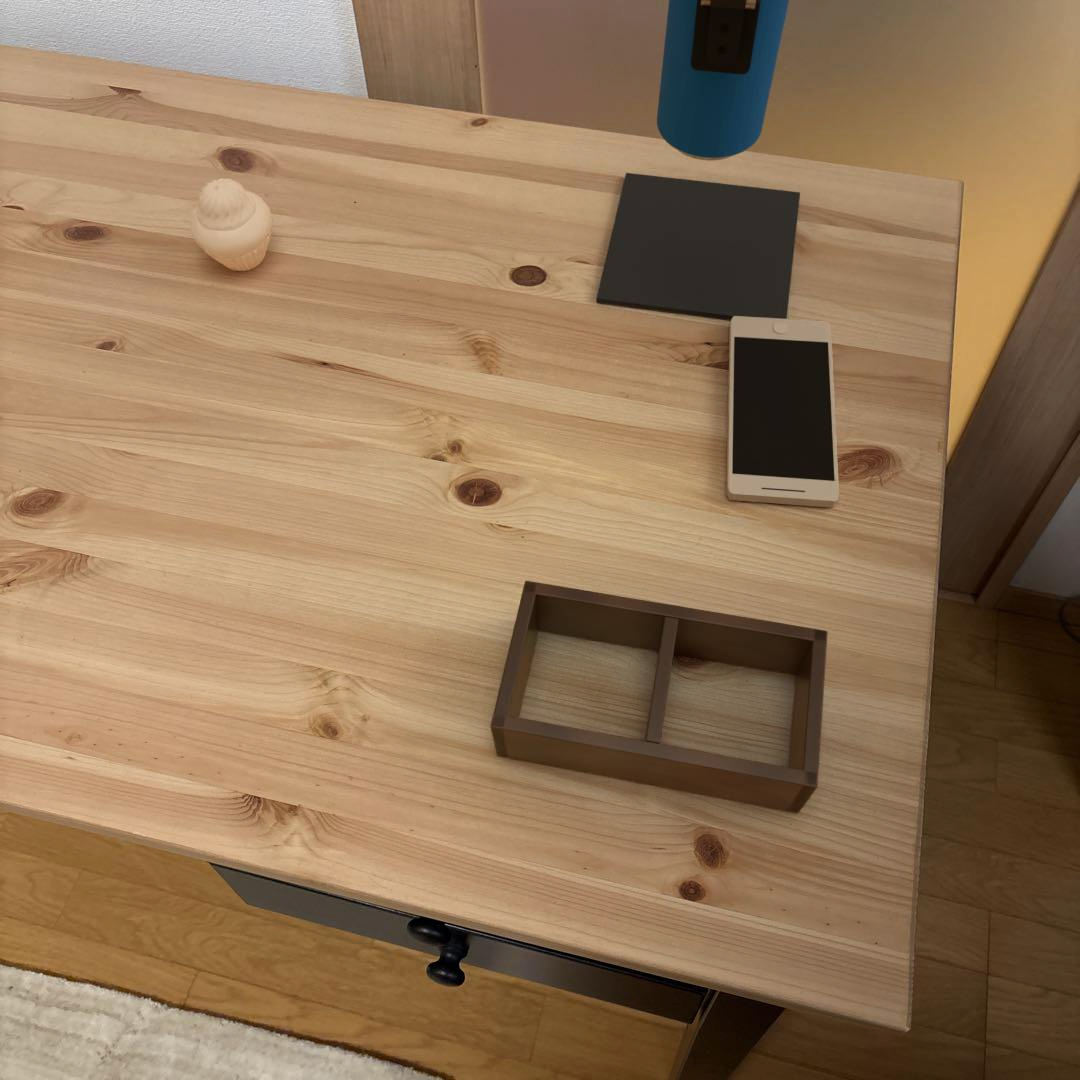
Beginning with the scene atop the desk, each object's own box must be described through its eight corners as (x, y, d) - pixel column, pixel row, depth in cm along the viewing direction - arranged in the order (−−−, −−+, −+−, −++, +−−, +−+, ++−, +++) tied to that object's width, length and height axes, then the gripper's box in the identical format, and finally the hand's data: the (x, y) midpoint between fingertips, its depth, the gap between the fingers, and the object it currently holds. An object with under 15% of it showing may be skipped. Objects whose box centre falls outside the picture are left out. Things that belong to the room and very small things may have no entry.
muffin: (219, 226, 80) (190, 153, 74) (292, 232, 80) (269, 159, 74) (194, 282, 77) (161, 210, 71) (270, 289, 77) (244, 218, 71)
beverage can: (743, 94, 64) (779, -103, 54) (772, 161, 61) (817, -35, 51) (644, 107, 64) (662, -90, 53) (669, 175, 61) (693, -21, 50)
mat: (798, 197, 80) (800, 192, 80) (784, 327, 73) (786, 322, 73) (625, 177, 82) (626, 172, 81) (596, 303, 75) (596, 298, 75)
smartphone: (828, 329, 73) (831, 320, 72) (836, 508, 65) (840, 500, 64) (729, 323, 73) (730, 314, 73) (726, 500, 66) (727, 492, 65)
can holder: (809, 665, 60) (828, 630, 56) (798, 813, 55) (817, 787, 51) (528, 617, 62) (525, 579, 58) (496, 756, 58) (490, 726, 53)
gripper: (869, -286, 36) (782, 136, 52) (881, -458, 45) (803, -52, 60) (663, -296, 37) (638, 122, 53) (713, -462, 46) (679, -61, 61)
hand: (726, 26), depth 56 cm, fingers closed on beverage can, 6 cm apart
